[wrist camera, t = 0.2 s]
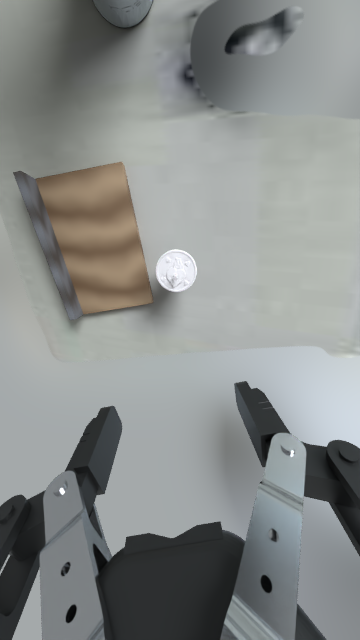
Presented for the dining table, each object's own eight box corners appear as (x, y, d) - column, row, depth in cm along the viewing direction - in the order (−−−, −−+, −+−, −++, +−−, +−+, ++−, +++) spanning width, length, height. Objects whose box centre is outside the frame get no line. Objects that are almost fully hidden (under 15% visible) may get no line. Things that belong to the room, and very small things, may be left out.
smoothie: (158, 281, 38) (148, 294, 25) (162, 248, 36) (154, 243, 22) (189, 286, 38) (195, 302, 25) (195, 254, 36) (205, 252, 23)
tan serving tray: (33, 183, 32) (11, 172, 28) (124, 166, 31) (115, 151, 27) (80, 313, 40) (68, 320, 36) (153, 301, 39) (150, 306, 35)
